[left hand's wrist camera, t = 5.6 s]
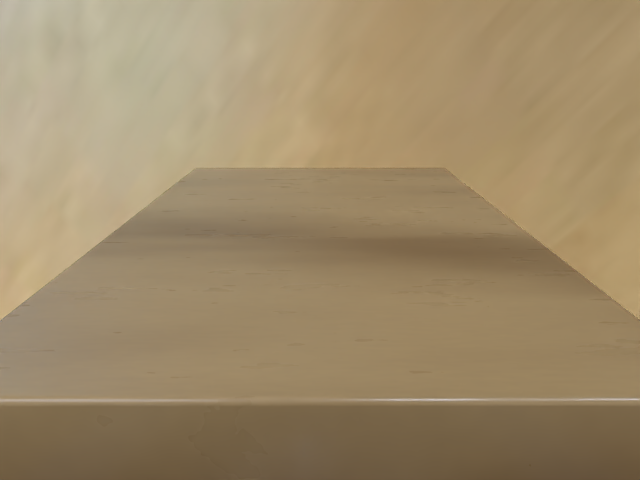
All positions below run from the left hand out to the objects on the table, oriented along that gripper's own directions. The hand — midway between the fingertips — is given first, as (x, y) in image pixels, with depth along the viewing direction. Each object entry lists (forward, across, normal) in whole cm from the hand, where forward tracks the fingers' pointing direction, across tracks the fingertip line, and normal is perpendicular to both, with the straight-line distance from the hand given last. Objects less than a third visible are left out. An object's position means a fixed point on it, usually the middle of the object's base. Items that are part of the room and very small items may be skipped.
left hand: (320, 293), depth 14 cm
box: (+1, 0, -10) cm, 10 cm away
